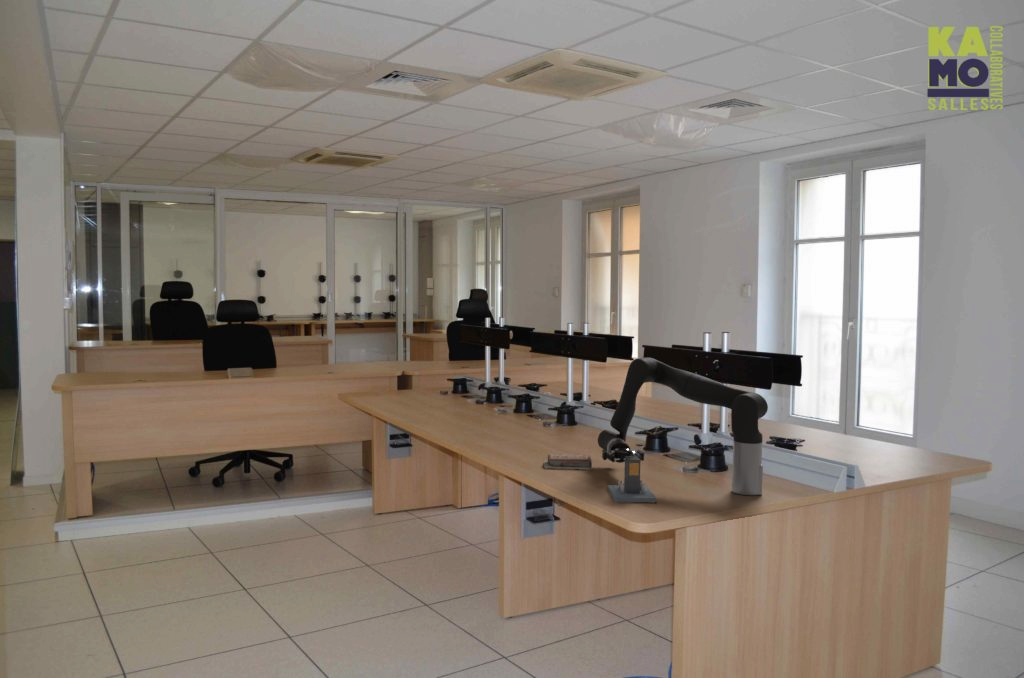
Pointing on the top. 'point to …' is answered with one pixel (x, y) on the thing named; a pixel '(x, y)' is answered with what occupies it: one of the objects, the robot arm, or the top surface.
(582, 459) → the packaged product
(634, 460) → the block
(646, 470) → the top surface
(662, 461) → the top surface
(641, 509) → the top surface
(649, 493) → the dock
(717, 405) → the robot arm
